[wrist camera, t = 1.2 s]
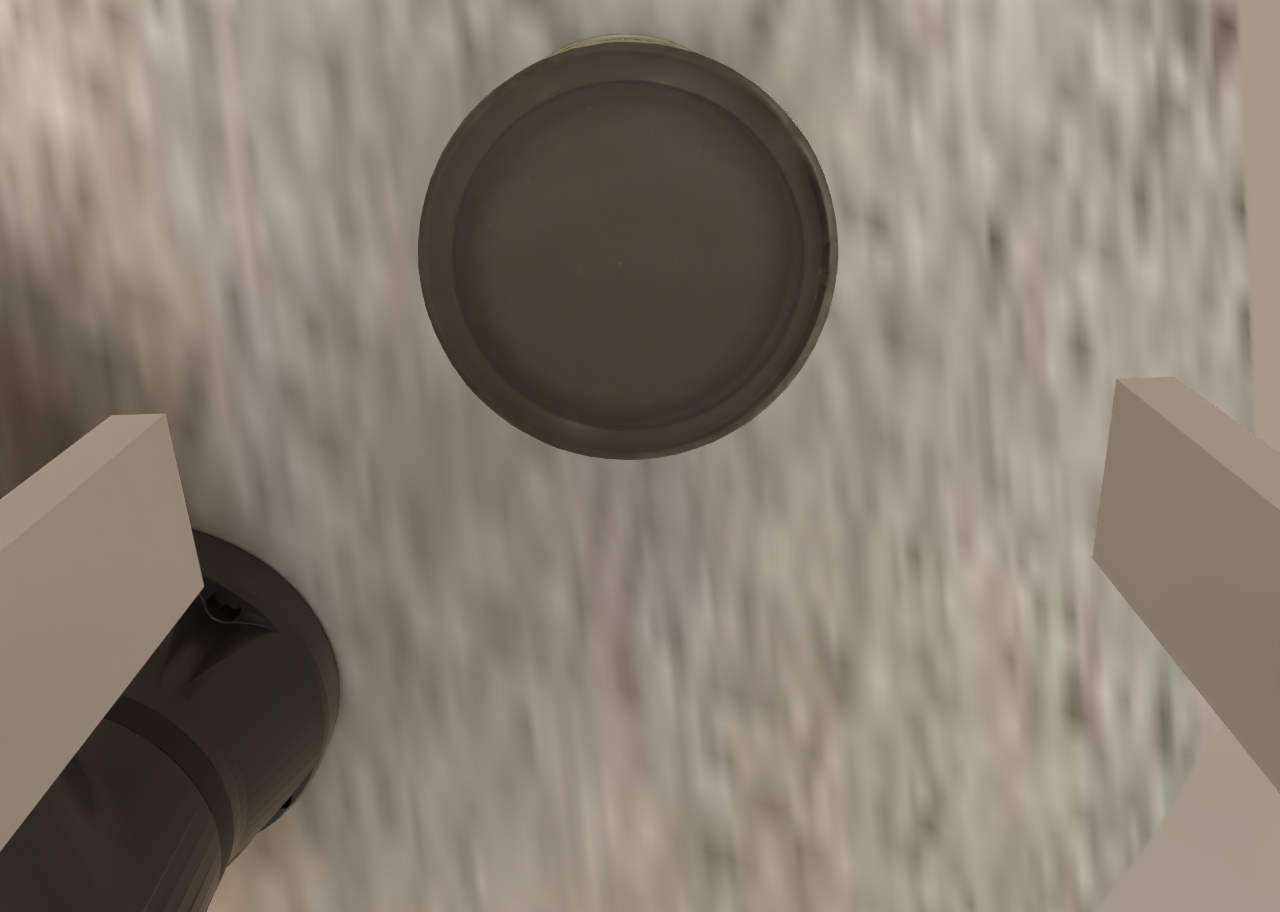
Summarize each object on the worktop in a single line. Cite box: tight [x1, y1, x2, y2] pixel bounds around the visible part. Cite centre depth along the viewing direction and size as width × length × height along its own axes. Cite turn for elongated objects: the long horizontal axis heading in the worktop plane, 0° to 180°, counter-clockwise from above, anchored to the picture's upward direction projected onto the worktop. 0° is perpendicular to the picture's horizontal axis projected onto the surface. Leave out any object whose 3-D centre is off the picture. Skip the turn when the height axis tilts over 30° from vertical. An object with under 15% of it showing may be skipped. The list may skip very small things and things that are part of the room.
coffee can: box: [418, 34, 838, 460], centre depth 33 cm, size 10×10×14 cm
